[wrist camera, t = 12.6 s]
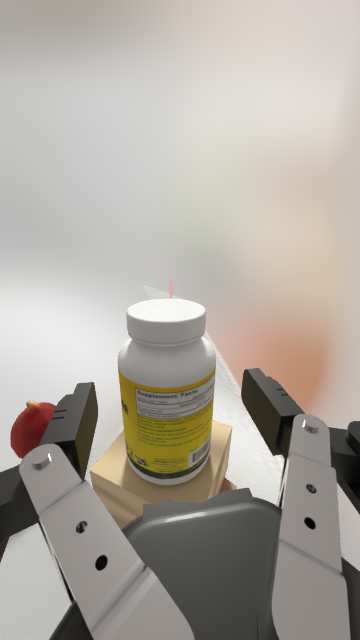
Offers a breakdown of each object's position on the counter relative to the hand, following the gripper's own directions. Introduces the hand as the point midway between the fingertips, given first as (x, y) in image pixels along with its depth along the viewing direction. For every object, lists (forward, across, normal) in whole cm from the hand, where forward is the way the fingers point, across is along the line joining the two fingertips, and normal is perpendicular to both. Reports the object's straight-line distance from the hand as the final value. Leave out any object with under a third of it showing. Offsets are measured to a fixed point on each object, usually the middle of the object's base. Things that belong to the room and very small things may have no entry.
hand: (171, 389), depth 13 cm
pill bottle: (+3, 0, +8) cm, 8 cm away
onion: (+12, +14, +18) cm, 25 cm away
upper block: (+3, 0, +13) cm, 13 cm away
